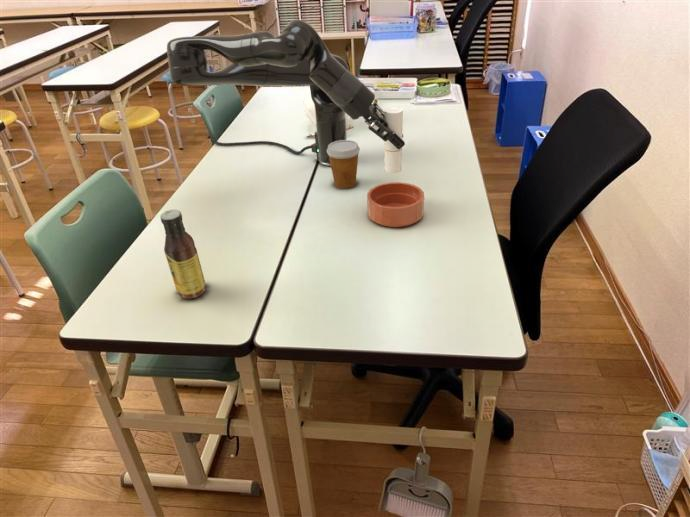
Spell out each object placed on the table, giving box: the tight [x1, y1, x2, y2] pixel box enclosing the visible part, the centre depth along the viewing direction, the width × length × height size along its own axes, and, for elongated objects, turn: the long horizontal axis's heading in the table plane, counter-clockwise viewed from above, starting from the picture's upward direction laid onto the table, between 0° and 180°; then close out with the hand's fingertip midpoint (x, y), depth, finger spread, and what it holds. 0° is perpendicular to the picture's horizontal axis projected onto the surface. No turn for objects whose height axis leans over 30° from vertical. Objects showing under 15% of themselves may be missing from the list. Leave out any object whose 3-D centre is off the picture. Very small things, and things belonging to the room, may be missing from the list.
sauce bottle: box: [159, 208, 206, 300], centre depth 108 cm, size 6×6×20 cm
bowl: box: [366, 181, 425, 228], centre depth 135 cm, size 15×15×6 cm
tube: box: [384, 106, 404, 174], centre depth 126 cm, size 4×4×15 cm
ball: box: [303, 88, 354, 138], centre depth 186 cm, size 17×25×24 cm
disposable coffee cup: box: [327, 139, 361, 189], centre depth 151 cm, size 10×10×12 cm
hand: (401, 142), depth 126 cm, fingers closed on tube, 4 cm apart
